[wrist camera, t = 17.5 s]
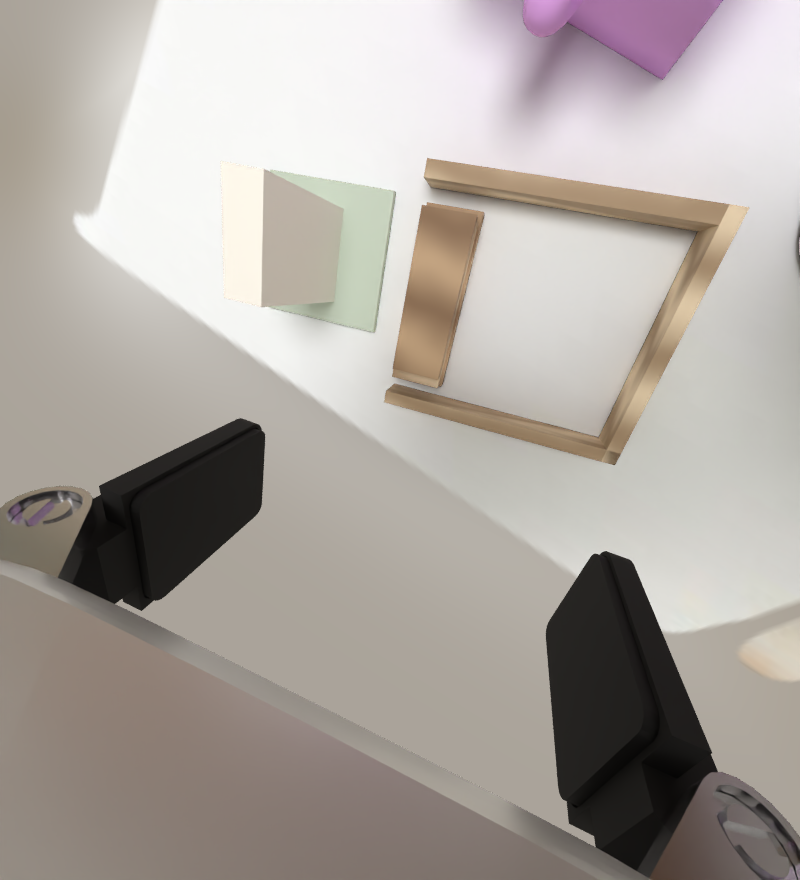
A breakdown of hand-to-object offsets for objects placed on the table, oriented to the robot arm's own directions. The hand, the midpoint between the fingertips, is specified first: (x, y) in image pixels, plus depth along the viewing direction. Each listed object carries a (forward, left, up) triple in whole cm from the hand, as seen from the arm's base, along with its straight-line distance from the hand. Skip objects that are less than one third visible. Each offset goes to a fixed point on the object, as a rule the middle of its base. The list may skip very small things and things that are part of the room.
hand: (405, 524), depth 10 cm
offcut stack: (-4, -5, -28) cm, 28 cm away
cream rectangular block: (-6, -16, -27) cm, 32 cm away
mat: (-6, -16, -28) cm, 33 cm away
